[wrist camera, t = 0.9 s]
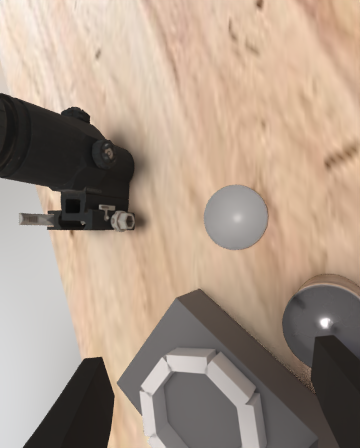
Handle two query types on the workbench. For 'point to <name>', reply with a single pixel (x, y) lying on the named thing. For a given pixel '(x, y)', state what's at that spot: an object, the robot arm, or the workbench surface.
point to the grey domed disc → (235, 217)
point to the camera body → (218, 386)
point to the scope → (66, 166)
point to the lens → (323, 315)
